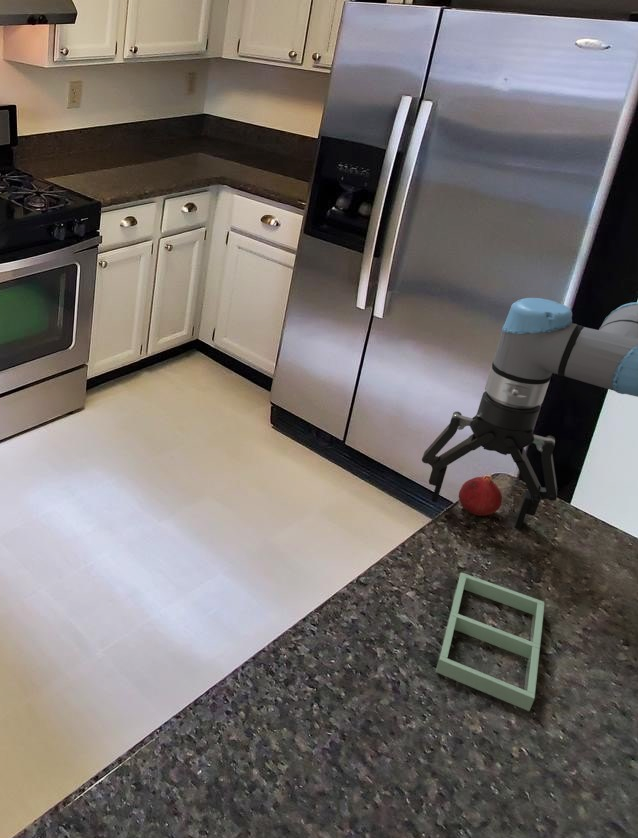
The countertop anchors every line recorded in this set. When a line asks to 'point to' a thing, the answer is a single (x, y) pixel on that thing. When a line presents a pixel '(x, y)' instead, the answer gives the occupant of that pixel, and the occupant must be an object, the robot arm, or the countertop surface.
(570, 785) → the countertop surface
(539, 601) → the holder
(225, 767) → the countertop surface
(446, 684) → the countertop surface
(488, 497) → the onion
